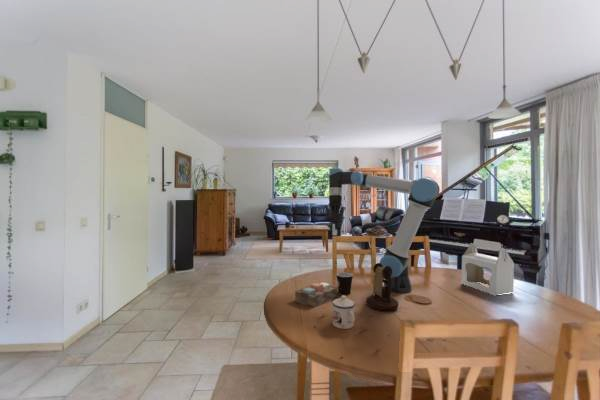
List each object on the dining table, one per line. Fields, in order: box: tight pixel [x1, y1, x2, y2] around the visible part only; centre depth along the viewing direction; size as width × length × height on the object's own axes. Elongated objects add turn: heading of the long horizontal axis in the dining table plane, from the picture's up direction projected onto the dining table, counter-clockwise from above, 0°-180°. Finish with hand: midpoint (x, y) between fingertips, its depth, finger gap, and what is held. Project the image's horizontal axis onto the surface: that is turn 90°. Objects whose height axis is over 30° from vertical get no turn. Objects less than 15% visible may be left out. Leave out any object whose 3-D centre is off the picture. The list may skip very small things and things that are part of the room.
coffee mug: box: [336, 272, 354, 296], centre depth 157 cm, size 12×9×10 cm
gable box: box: [461, 238, 515, 295], centre depth 166 cm, size 22×13×28 cm, turn 19°
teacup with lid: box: [331, 295, 356, 330], centre depth 116 cm, size 12×9×12 cm
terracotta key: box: [310, 282, 323, 292], centre depth 145 cm, size 4×4×5 cm
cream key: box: [319, 282, 331, 289], centre depth 150 cm, size 4×4×5 cm
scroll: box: [365, 262, 399, 312], centre depth 137 cm, size 15×15×20 cm
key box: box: [294, 282, 338, 309], centre depth 145 cm, size 19×12×5 cm, turn 138°
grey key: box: [302, 286, 315, 295], centre depth 141 cm, size 4×4×5 cm
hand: (334, 234), depth 169 cm, fingers closed
